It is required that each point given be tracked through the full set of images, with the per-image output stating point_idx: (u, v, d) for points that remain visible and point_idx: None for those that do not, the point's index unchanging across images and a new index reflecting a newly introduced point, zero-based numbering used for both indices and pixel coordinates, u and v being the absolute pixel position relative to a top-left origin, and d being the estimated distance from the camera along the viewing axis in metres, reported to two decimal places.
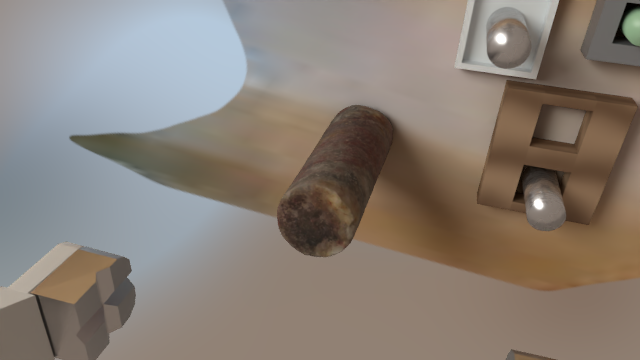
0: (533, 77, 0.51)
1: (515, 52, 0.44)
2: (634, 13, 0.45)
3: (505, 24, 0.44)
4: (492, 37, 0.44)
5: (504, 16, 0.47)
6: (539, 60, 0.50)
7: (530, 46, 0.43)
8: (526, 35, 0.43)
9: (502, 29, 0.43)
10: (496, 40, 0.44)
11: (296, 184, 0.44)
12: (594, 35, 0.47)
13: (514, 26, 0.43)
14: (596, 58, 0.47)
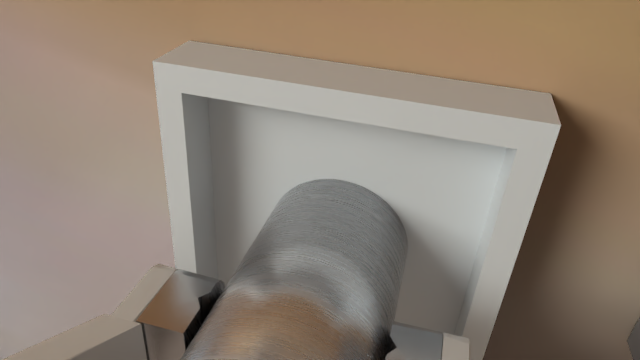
0: None
1: None
2: None
3: None
4: None
5: (258, 288, 0.09)
6: None
7: None
8: None
9: None
10: None
11: None
12: None
13: None
14: None
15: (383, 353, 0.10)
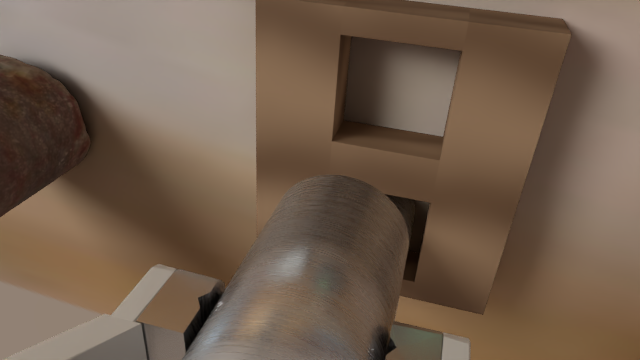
0: None
1: None
2: None
3: None
4: None
5: (265, 278, 0.09)
6: None
7: None
8: None
9: None
10: None
11: None
12: None
13: None
14: None
15: (385, 342, 0.10)
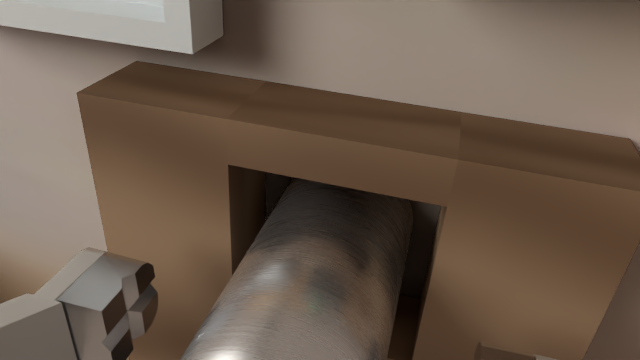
0: (180, 45, 0.11)
1: None
2: None
3: None
4: None
5: (280, 247, 0.10)
6: None
7: None
8: None
9: None
10: None
11: None
12: None
13: None
14: None
15: (392, 308, 0.11)
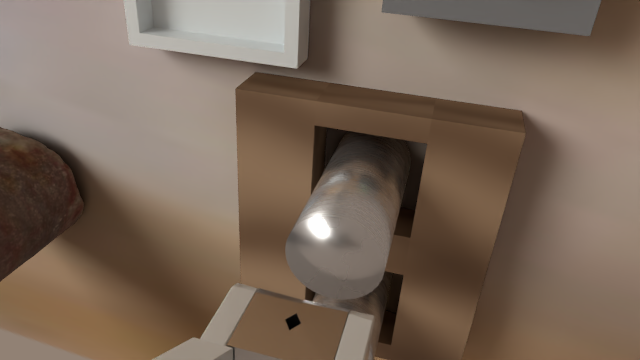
0: (290, 64, 0.22)
1: (349, 269, 0.18)
2: None
3: (326, 200, 0.18)
4: (292, 234, 0.18)
5: (345, 162, 0.21)
6: (294, 22, 0.21)
7: (381, 260, 0.18)
8: (368, 237, 0.17)
9: (311, 219, 0.17)
10: (302, 241, 0.18)
11: None
12: None
13: (340, 213, 0.17)
14: (406, 9, 0.18)
15: (400, 194, 0.21)
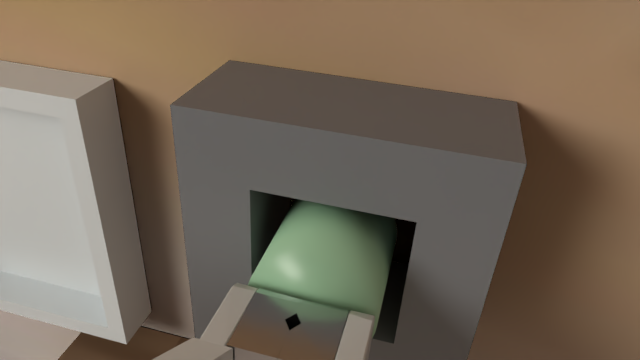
0: (118, 339, 0.18)
1: None
2: (283, 230, 0.11)
3: None
4: None
5: None
6: (112, 302, 0.17)
7: None
8: None
9: None
10: None
11: None
12: (191, 279, 0.13)
13: None
14: None
15: None
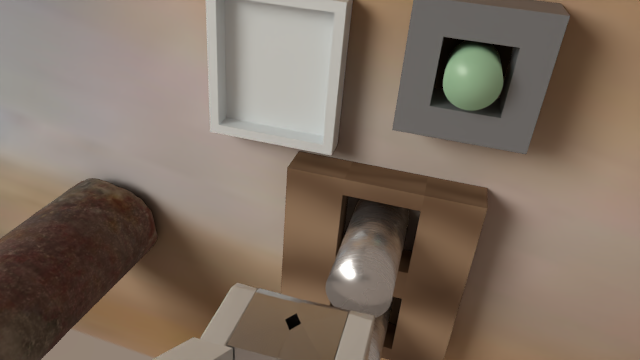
0: (327, 152, 0.31)
1: (367, 299, 0.28)
2: (457, 53, 0.25)
3: (353, 254, 0.28)
4: (331, 276, 0.27)
5: (364, 224, 0.30)
6: (331, 126, 0.30)
7: (389, 295, 0.27)
8: (381, 280, 0.27)
9: (344, 268, 0.27)
10: (338, 281, 0.27)
11: None
12: (399, 91, 0.27)
13: (363, 264, 0.27)
14: (408, 129, 0.28)
15: (401, 245, 0.31)
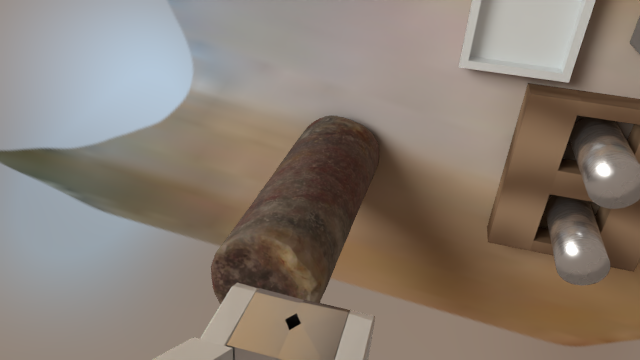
0: (565, 80, 0.38)
1: (624, 190, 0.34)
2: None
3: (611, 155, 0.35)
4: (595, 172, 0.34)
5: (603, 136, 0.37)
6: (574, 57, 0.37)
7: None
8: None
9: (610, 164, 0.34)
10: (600, 176, 0.34)
11: (236, 233, 0.31)
12: None
13: (625, 161, 0.34)
14: None
15: None
